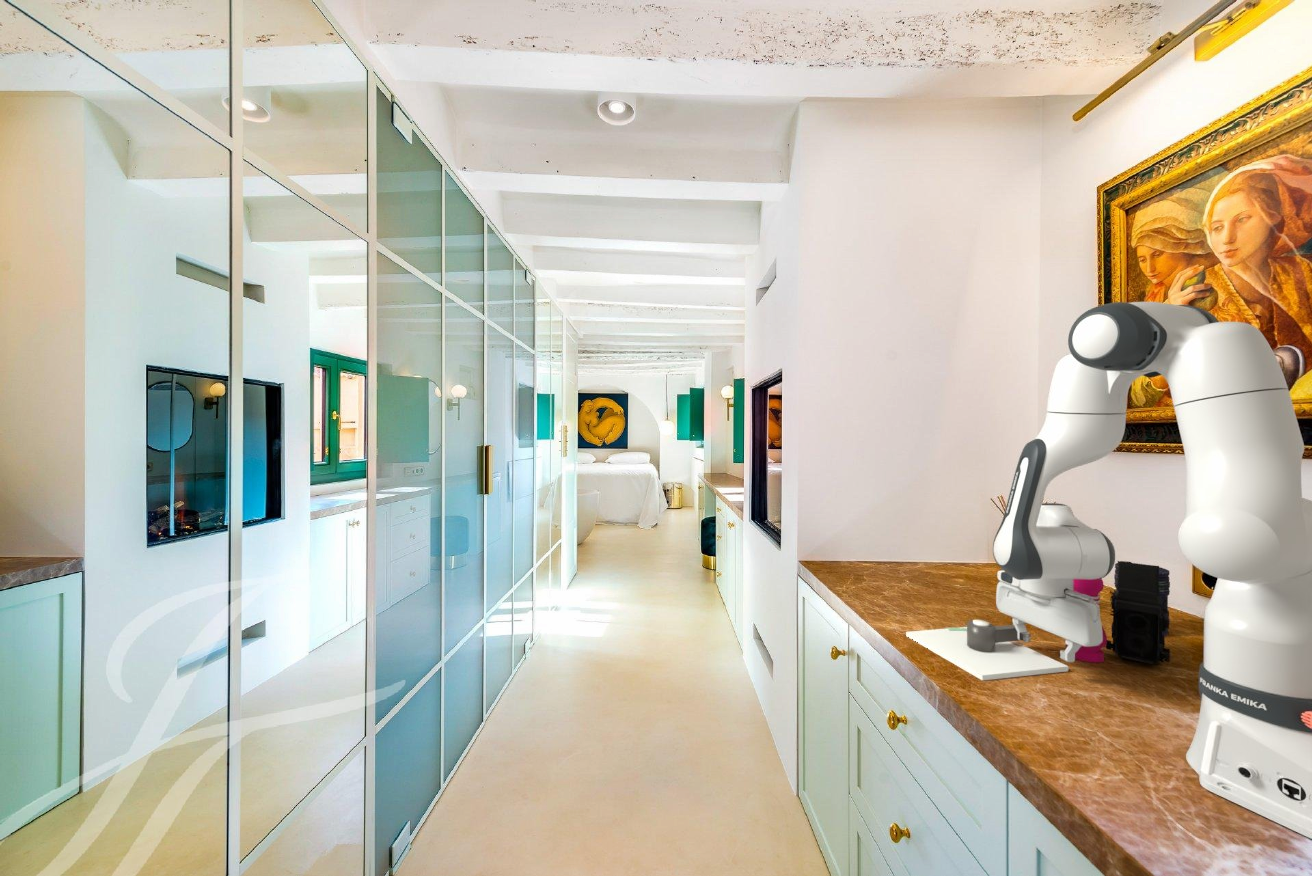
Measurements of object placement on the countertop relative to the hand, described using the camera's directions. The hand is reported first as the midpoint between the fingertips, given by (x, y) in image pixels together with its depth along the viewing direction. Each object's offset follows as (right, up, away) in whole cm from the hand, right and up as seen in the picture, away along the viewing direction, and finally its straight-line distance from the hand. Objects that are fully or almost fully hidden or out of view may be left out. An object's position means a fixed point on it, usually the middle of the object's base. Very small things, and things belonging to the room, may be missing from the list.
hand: (1044, 650), depth 104 cm
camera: (+23, -4, +5) cm, 24 cm away
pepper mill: (+13, -4, +6) cm, 14 cm away
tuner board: (-8, -4, +8) cm, 12 cm away
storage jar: (+39, -4, +21) cm, 45 cm away
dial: (-4, -2, +8) cm, 10 cm away
